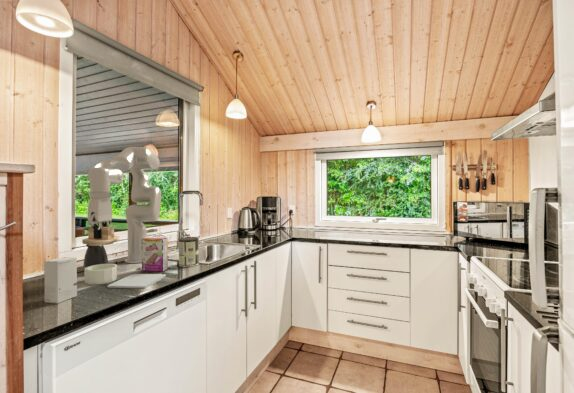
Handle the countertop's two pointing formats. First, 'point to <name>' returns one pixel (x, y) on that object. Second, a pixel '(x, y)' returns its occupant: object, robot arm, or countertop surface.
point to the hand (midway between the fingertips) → (101, 237)
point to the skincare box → (60, 279)
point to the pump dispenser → (95, 256)
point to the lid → (106, 237)
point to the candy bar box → (154, 254)
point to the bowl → (100, 274)
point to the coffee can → (188, 251)
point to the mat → (137, 281)
